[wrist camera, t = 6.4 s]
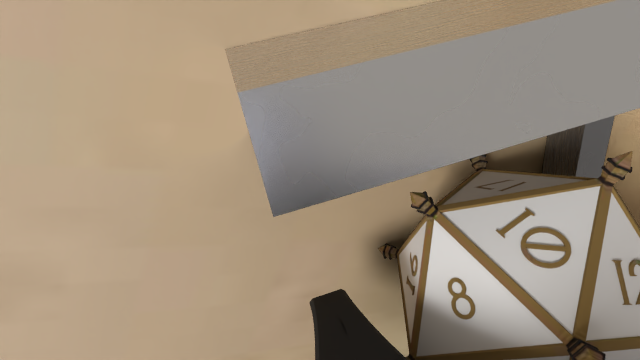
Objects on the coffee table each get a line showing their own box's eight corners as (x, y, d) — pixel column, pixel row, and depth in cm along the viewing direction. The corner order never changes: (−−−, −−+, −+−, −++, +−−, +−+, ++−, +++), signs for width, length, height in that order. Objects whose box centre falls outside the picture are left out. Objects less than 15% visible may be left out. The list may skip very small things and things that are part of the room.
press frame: (528, 385, 23) (602, 476, 19) (343, 461, 21) (378, 580, 17) (601, -36, 12) (825, -51, 8) (225, 49, 10) (237, 92, 6)
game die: (406, 212, 19) (453, 447, 15) (310, 145, 13) (339, 528, 8) (615, 151, 15) (769, 457, 10) (627, 6, 8) (1049, 642, 4)
